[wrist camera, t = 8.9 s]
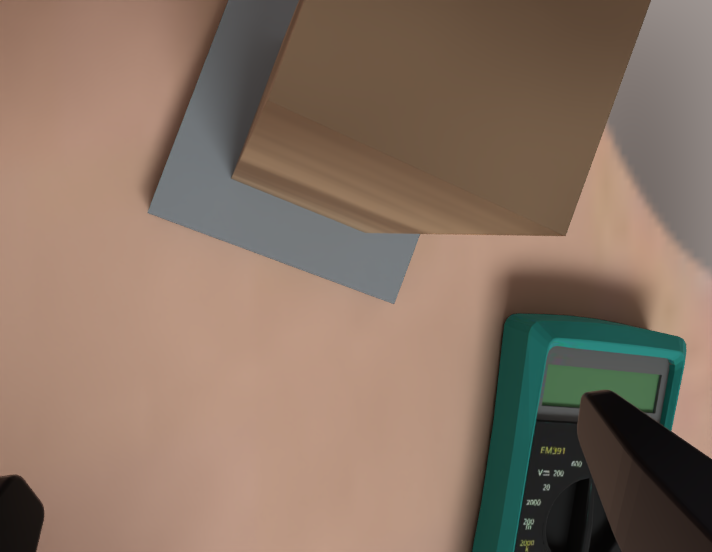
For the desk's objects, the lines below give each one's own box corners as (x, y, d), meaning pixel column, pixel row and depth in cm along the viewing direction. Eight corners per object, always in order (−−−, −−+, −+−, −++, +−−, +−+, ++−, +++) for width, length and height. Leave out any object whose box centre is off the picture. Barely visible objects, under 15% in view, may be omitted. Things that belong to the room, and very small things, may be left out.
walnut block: (365, 233, 19) (565, 236, 8) (231, 178, 18) (267, 99, 7) (413, 103, 19) (671, -56, 8) (283, 38, 18) (398, -249, 7)
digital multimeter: (442, 658, 23) (477, 721, 20) (498, 305, 22) (543, 317, 19) (588, 645, 25) (639, 701, 22) (644, 323, 24) (704, 336, 21)
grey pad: (387, 301, 20) (394, 303, 19) (149, 213, 18) (147, 212, 17) (468, 82, 20) (478, 76, 20) (244, -36, 18) (246, -48, 17)
